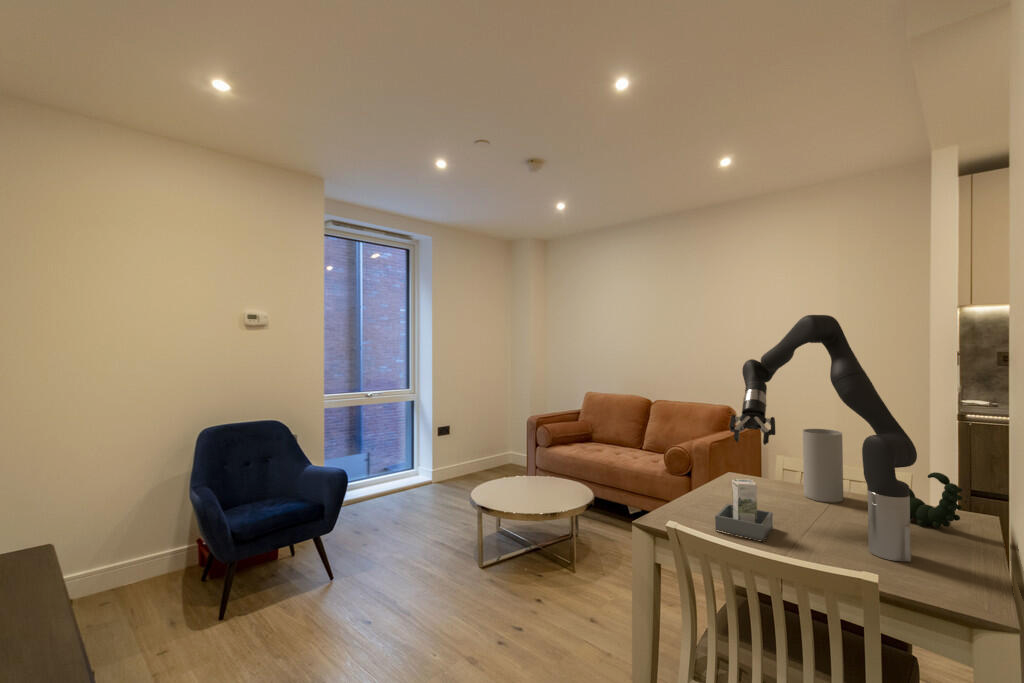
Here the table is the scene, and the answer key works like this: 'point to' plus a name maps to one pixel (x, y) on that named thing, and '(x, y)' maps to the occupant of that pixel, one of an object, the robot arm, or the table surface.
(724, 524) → the crate
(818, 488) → the cylinder vase
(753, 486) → the syrup box
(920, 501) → the toy figurine
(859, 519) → the table surface
